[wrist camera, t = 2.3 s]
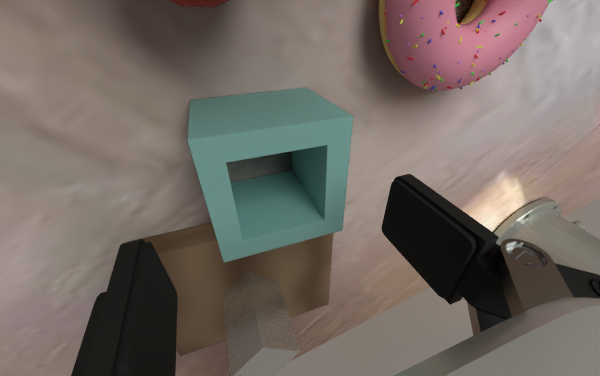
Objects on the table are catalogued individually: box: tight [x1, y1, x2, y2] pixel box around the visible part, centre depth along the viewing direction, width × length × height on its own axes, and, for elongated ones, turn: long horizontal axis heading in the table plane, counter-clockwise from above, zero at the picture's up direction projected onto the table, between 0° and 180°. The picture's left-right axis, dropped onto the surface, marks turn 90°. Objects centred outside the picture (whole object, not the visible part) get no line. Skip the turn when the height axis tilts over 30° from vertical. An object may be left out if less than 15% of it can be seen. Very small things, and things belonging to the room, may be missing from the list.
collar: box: [187, 88, 353, 262], centre depth 15 cm, size 7×7×6 cm
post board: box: [130, 223, 333, 376], centre depth 20 cm, size 15×13×8 cm
